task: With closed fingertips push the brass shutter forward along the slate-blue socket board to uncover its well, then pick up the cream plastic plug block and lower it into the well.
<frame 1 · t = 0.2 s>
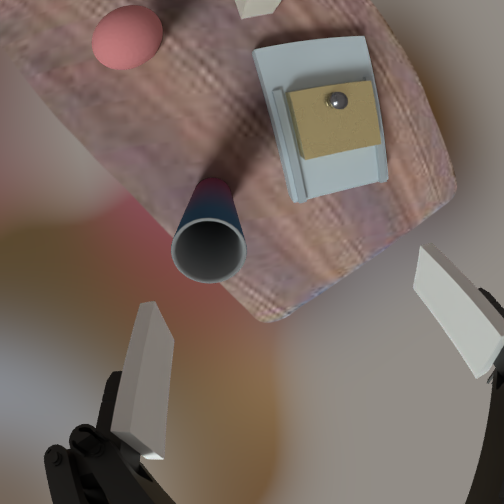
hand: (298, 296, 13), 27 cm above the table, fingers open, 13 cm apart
shutter: (337, 117, 30), point 5 cm above the table, slide at 0.0 cm
cup: (212, 194, 39), on the table
plug: (252, 3, 26), on the table
light bulb: (147, 48, 28), on the table
socket board: (323, 114, 34), on the table
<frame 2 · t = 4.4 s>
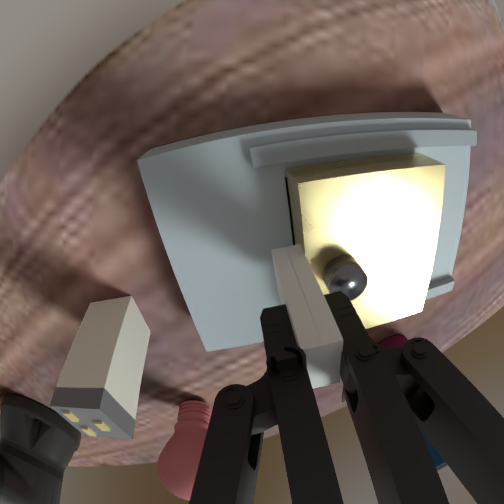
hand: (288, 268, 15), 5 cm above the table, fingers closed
shutter: (373, 256, 15), point 5 cm above the table, slide at 1.1 cm, touching gripper
cup: (387, 349, 28), on the table
plug: (120, 317, 22), on the table
light bulb: (193, 400, 29), on the table
socket board: (326, 220, 19), on the table
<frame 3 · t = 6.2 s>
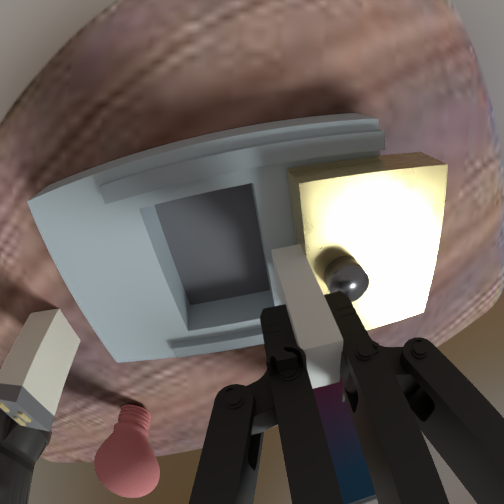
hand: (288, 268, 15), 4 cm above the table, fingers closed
shutter: (375, 257, 15), point 5 cm above the table, slide at 8.7 cm, touching gripper
cup: (322, 369, 28), on the table
plug: (55, 326, 22), on the table
light bulb: (134, 404, 29), on the table
socket board: (215, 243, 19), on the table
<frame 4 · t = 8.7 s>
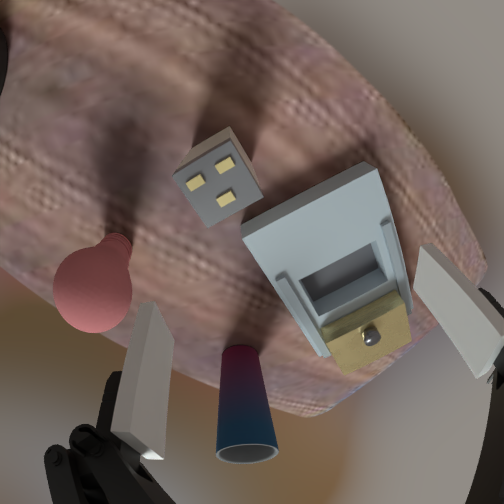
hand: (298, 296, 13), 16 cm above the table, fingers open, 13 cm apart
shutter: (371, 339, 32), point 5 cm above the table, slide at 8.7 cm
cup: (239, 355, 39), on the table
plug: (221, 155, 26), on the table
light bulb: (120, 242, 29), on the table
socket board: (337, 265, 33), on the table
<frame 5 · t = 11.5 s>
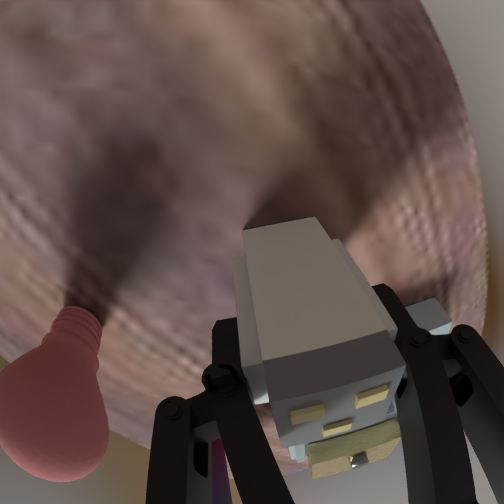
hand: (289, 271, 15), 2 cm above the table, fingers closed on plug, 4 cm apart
shutter: (353, 456, 26), point 5 cm above the table, slide at 8.7 cm
cup: (202, 440, 29), on the table
plug: (283, 254, 17), on the table, touching gripper
light bulb: (86, 315, 18), on the table
socket board: (349, 388, 25), on the table
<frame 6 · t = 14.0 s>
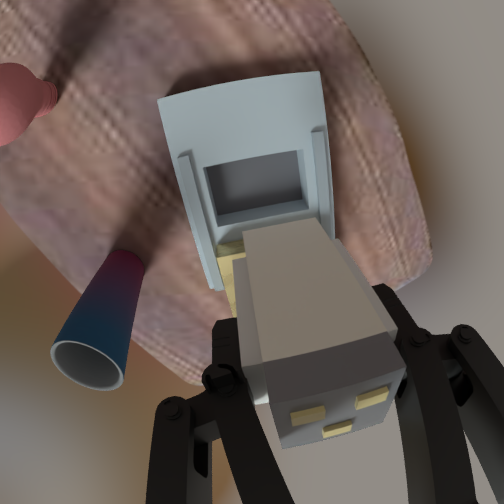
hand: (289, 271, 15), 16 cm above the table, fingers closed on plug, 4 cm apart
shutter: (275, 278, 29), point 5 cm above the table, slide at 8.7 cm
cup: (125, 267, 33), on the table
plug: (283, 255, 17), point 15 cm above the table, touching gripper
light bulb: (50, 95, 21), on the table
socket board: (255, 179, 29), on the table
when the fingers open (4 cm above the table, at t = 16.8 s): plug drops 2 cm, resting on socket board.
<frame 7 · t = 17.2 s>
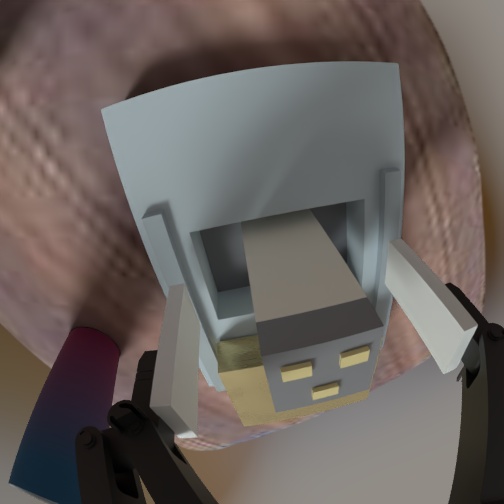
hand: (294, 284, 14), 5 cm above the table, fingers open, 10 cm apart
shutter: (303, 383, 18), point 5 cm above the table, slide at 8.7 cm
cup: (94, 345, 22), on the table
plug: (278, 240, 18), resting on socket board
socket board: (277, 238, 18), on the table
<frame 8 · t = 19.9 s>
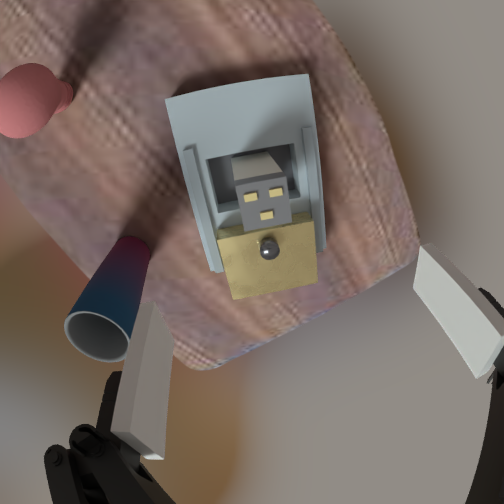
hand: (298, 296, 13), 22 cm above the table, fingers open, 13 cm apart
shutter: (270, 259, 32), point 5 cm above the table, slide at 8.7 cm
cup: (132, 252, 36), on the table
plug: (252, 171, 32), resting on socket board
light bulb: (65, 94, 24), on the table
socket board: (252, 170, 32), on the table
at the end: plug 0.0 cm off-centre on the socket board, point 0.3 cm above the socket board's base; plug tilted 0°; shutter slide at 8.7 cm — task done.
